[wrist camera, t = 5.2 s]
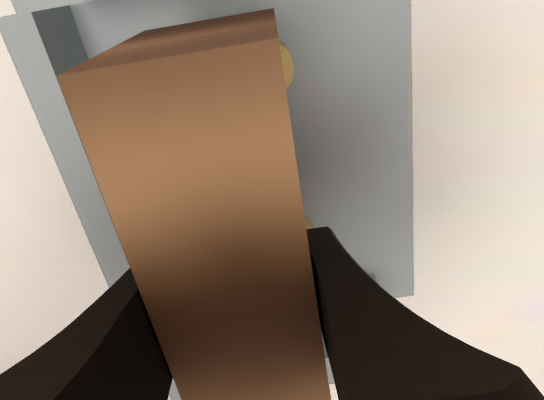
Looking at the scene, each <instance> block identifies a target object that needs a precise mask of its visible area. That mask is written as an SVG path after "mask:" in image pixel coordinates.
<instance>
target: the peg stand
mask: <svg viewBox="0 0 544 400" xmlns="http://www.w3.org/2000/svg"><path fill="white" fill-rule="evenodd" d="M11 2H12V4H13V7H14V9H15V12H16V14H15V15H10V16H4V17H0V33H1V35H2V37H3V40H4V42H5V44H6V47H7V49H8V51H9V54H10V56H11V58H12V61H13V63H14V65H15V68H16V70H17V73H18V75H19V77H20V80H21V82H22V84H23V87H24V89H25V91H26V94H27V96H28V98H29V101H30V103H31V105H32V108H33V110H34V112H35V115H36V117H37V119H38V122H39V124H40V127H41V129H42V131H43V134H44V136H45V138H46V141H47V143H48V145H49V148H50V150H51V152H52V155H53V157H54V159H55V162H56V164H57V166H58V169H59V171H60V174H61V176H62V178H63V181H64V183H65V185H66V188H67V190H68V192H69V195H70V197H71V199H72V202H73V204H74V206H75V209H76V211H77V213H78V216H79V218H80V220H81V223H82V225H83V228H84V230H85V232H86V235H87V237H88V239H89V242H90V244H91V246H92V249H93V251H94V253H95V256H96V258H97V260H98V263H99V265H100V267H101V270H102V272H103V275H104V277H105V279H106V282H107V284H108V286H109V288H110V287H111V286H112V285H113V284H114V283H115V282H116V281H117V280H118V279H119V278H120V277H121V276H122V275H123V274H124V273H125V272H126V271H127V270H128V269H129V268H130V265H129V263H128V260H127V258H126V255H125V252H124V250H123V247H122V245H121V242H120V239H119V237H118V234H117V232H116V229H115V226H114V224H113V221H112V219H111V216H110V213H109V211H108V208H107V206H106V203H105V200H104V198H103V195H102V193H101V190H100V187H99V185H98V182H97V180H96V177H95V175H94V172H93V169H92V167H91V164H90V162H89V159H88V156H87V154H86V151H85V149H84V146H83V143H82V141H81V138H80V136H79V133H78V130H77V128H76V125H75V123H74V120H73V117H72V115H71V112H70V110H69V107H68V105H67V102H66V99H65V97H64V94H63V92H62V89H61V86H60V84H59V81H58V79H57V75H59V74H61V73H63V72H65V71H67V70H69V69H71V68H73V67H75V66H77V65H78V64H80V63H82V62H84V61H86V60H88V59H90V58H92V57H94V56H96V55H98V54H100V53H102V52H104V51H106V50H108V49H110V48H112V47H114V46H115V45H117V44H119V43H121V42H123V41H125V40H127V39H129V38H131V37H133V36H135V35H137V34H139V33H141V32H143V31H145V30H151V29H156V28H162V27H168V26H174V25H179V24H185V23H191V22H196V21H202V20H208V19H213V18H219V17H225V16H231V15H236V14H242V13H248V12H253V11H259V10H265V9H270V8H274V12H275V19H276V25H277V32H278V38H279V45H280V52H281V59H282V65H283V72H284V79H285V86H286V93H287V100H288V107H289V114H290V121H291V127H292V134H293V141H294V148H295V155H296V162H297V169H298V176H299V182H300V189H301V196H302V203H303V210H304V217H305V224H306V229H312V228H319V227H326V226H328V227H329V228H331V229H332V231H333V232H334V234H335V236H336V237H337V239H338V240H339V241H340V243H341V244H342V245H343V247H344V248H345V249H346V251H347V252H348V253H349V254H350V255H351V257H352V258H353V259H354V260H355V261H356V262H357V263H358V264H359V265H360V267H361V268H362V269H363V270H364V271H365V272H366V273H367V274H368V275H369V276H370V277H371V278H372V279H373V280H374V281H375V282H377V283H378V284H379V285H380V286H381V287H382V288H383V289H384V290H385V291H387V292H388V293H389V294H390V295H391V296H392V297H394V298H397V297H405V296H412V295H414V266H413V169H412V72H411V0H11ZM321 334H322V331H321ZM322 341H323V348H324V355H325V361H326V368H327V375H328V382H329V384H333V383H335V382H334V378H333V374H332V370H331V366H330V363H329V359H328V355H327V351H326V347H325V343H324V339H323V335H322ZM169 395H170V397H171V400H181V398H180V395H179V392H178V390H177V387H176V385H175V382H174V379H172V383H171V387H170V391H169Z"/></svg>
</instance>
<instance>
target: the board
mask: <svg viewBox="0 0 544 400" xmlns="http://www.w3.org/2000/svg"><path fill="white" fill-rule="evenodd" d="M57 79H58V81H59V84H60V86H61V89H62V92H63V94H64V97H65V99H66V102H67V105H68V107H69V110H70V112H71V115H72V117H73V120H74V123H75V125H76V128H77V130H78V133H79V136H80V138H81V141H82V143H83V146H84V149H85V151H86V154H87V156H88V159H89V162H90V164H91V167H92V169H93V172H94V175H95V177H96V180H97V182H98V185H99V187H100V190H101V193H102V195H103V198H104V200H105V203H106V206H107V208H108V211H109V213H110V216H111V219H112V221H113V224H114V226H115V229H116V232H117V234H118V237H119V239H120V242H121V245H122V247H123V250H124V252H125V255H126V258H127V260H128V263H129V265H130V268H131V270H132V273H133V276H134V278H135V281H136V283H137V286H138V289H139V291H140V294H141V296H142V299H143V302H144V304H145V307H146V309H147V312H148V315H149V317H150V320H151V322H152V325H153V328H154V330H155V333H156V335H157V338H158V340H159V343H160V346H161V348H162V351H163V353H164V356H165V359H166V361H167V364H168V366H169V369H170V372H171V374H172V377H173V379H174V382H175V385H176V387H177V390H178V392H179V395H180V398H181V400H331V396H330V389H329V382H328V375H327V368H326V361H325V355H324V348H323V341H322V334H321V327H320V320H319V313H318V306H317V299H316V293H315V286H314V279H313V272H312V265H311V258H310V251H309V244H308V238H307V231H306V224H305V217H304V210H303V203H302V196H301V189H300V182H299V176H298V169H297V162H296V155H295V148H294V141H293V134H292V127H291V121H290V114H289V107H288V100H287V93H286V86H285V79H284V72H283V65H282V59H281V52H280V45H279V38H278V32H277V25H276V19H275V12H274V8H270V9H265V10H259V11H253V12H248V13H242V14H236V15H231V16H225V17H219V18H213V19H208V20H202V21H196V22H191V23H185V24H179V25H174V26H168V27H162V28H156V29H151V30H145V31H143V32H141V33H139V34H137V35H135V36H133V37H131V38H129V39H127V40H125V41H123V42H121V43H119V44H117V45H115V46H114V47H112V48H110V49H108V50H106V51H104V52H102V53H100V54H98V55H96V56H94V57H92V58H90V59H88V60H86V61H84V62H82V63H80V64H78V65H77V66H75V67H73V68H71V69H69V70H67V71H65V72H63V73H61V74H59V75H57Z"/></svg>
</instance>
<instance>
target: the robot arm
mask: <svg viewBox="0 0 544 400" xmlns="http://www.w3.org/2000/svg"><path fill="white" fill-rule="evenodd" d="M306 231H307V238H308V244H309V251H310V258H311V265H312V272H313V279H314V286H315V293H316V299H317V306H318V313H319V320H320V327H321V331H322V335H323V339H324V343H325V347H326V351H327V355H328V359H329V363H330V366H331V370H332V374H333V378H334V382H335V386H336V390H337V394H338V399H339V400H544V396H543V395H542V394H541V392H540V391H539V390H538V389H537V387H536V386H535V385H534V384H533V383H532V381H531V380H530V379H529V378H528V377H527V375H526V374H525V373H524V372H523V371H522V369H521V368H520V367H518V366H516V365H513V364H511V363H509V362H506V361H504V360H502V359H500V358H497V357H495V356H493V355H490V354H488V353H486V352H483V351H481V350H479V349H476V348H474V347H472V346H470V345H468V344H466V343H464V342H463V341H461V340H459V339H457V338H455V337H453V336H451V335H449V334H447V333H446V332H444V331H442V330H440V329H439V328H437V327H436V326H434V325H432V324H431V323H429V322H428V321H426V320H424V319H423V318H421V317H419V316H418V315H416V314H415V313H414V312H412V311H411V310H409V309H408V308H407V307H405V306H404V305H403V304H401V303H400V302H399V301H398V300H396V299H395V298H394V297H392V296H391V295H390V294H389V293H388V292H387V291H385V290H384V289H383V288H382V287H381V286H380V285H379V284H378V283H377V282H375V281H374V280H373V279H372V278H371V277H370V276H369V275H368V274H367V273H366V272H365V271H364V270H363V269H362V268H361V267H360V265H359V264H358V263H357V262H356V261H355V260H354V259H353V258H352V257H351V255H350V254H349V253H348V252H347V251H346V249H345V248H344V247H343V245H342V244H341V243H340V241H339V240H338V239H337V237H336V236H335V234H334V232H333V231H332V229H331V228H329V227H328V226H326V227H319V228H312V229H306ZM172 379H173V377H172V374H171V372H170V369H169V366H168V364H167V361H166V359H165V356H164V353H163V351H162V348H161V346H160V343H159V340H158V338H157V335H156V333H155V330H154V328H153V325H152V322H151V320H150V317H149V315H148V312H147V309H146V307H145V304H144V302H143V299H142V296H141V294H140V291H139V289H138V286H137V283H136V281H135V278H134V276H133V273H132V270H131V268H129V269H128V270H127V271H126V272H125V273H124V274H123V275H122V276H121V277H120V278H119V279H118V280H117V281H116V282H115V283H114V284H113V285H112V286H111V287H110V288H109V289H108V290H107V291H106V292H105V293H104V294H103V295H102V296H101V297H100V298H98V299H97V300H96V301H95V302H94V303H93V304H92V305H91V306H90V307H88V308H87V309H86V310H85V311H84V312H83V313H82V314H81V315H80V316H78V317H77V318H76V319H75V320H74V321H73V322H72V323H71V324H69V325H68V326H67V327H66V328H65V329H63V330H62V331H61V332H60V333H58V334H57V335H56V336H55V337H53V338H52V339H51V340H49V341H48V342H47V343H45V344H44V345H43V346H41V347H40V348H39V349H37V350H36V351H35V352H33V353H32V354H30V355H29V356H27V357H26V358H24V359H23V360H21V361H20V362H18V363H17V364H15V365H14V366H12V367H11V368H10V369H8V370H7V371H5V372H4V373H2V374H1V375H0V400H167V399H168V395H169V391H170V387H171V383H172Z"/></svg>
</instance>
